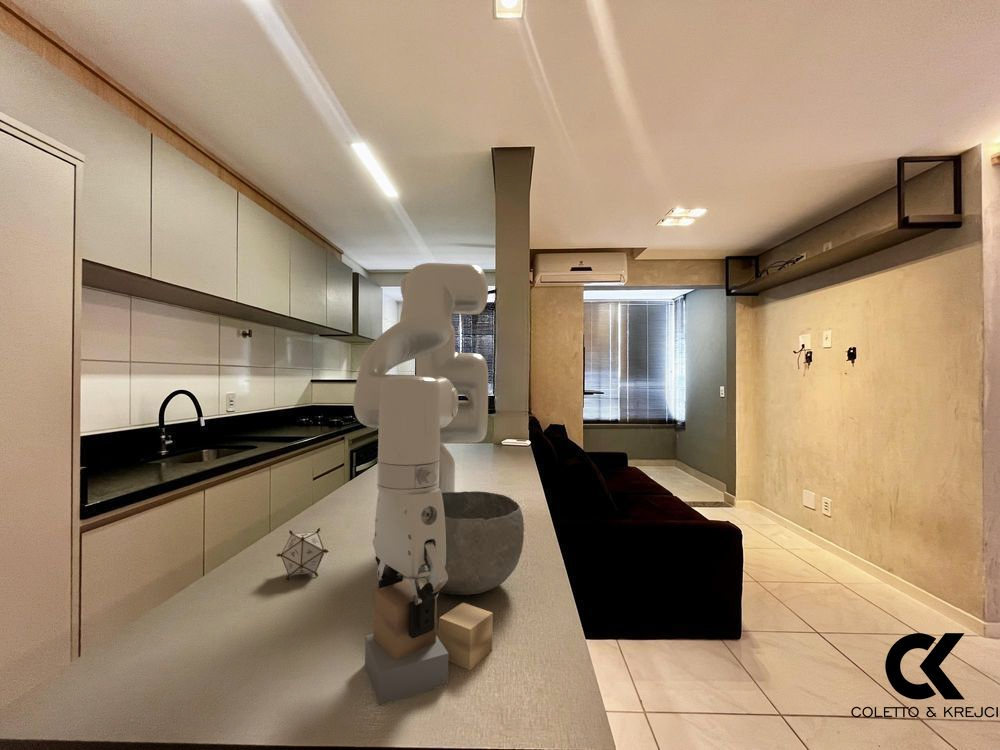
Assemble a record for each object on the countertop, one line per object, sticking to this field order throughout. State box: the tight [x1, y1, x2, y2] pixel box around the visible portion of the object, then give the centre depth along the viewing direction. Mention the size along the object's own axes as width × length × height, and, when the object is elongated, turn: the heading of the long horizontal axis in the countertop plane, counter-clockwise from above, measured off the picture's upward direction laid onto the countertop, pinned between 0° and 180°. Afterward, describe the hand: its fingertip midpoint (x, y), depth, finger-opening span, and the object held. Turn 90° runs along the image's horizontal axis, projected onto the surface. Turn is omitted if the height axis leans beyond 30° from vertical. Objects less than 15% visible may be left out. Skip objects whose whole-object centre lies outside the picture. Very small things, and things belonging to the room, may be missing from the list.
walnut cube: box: [372, 579, 438, 660], centre depth 55 cm, size 6×6×6 cm
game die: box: [275, 527, 329, 581], centre depth 82 cm, size 9×8×10 cm
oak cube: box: [438, 602, 494, 670], centre depth 59 cm, size 5×5×5 cm
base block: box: [364, 633, 449, 707], centre depth 54 cm, size 8×8×4 cm
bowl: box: [418, 490, 525, 596], centre depth 78 cm, size 20×20×15 cm
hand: (405, 619), depth 55 cm, fingers open, 6 cm apart
